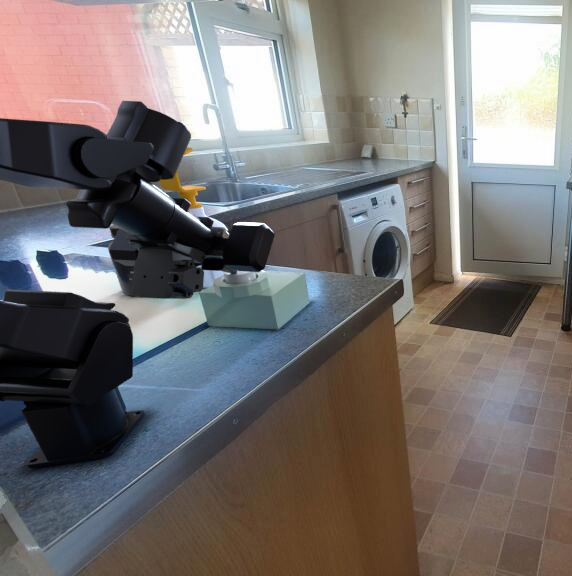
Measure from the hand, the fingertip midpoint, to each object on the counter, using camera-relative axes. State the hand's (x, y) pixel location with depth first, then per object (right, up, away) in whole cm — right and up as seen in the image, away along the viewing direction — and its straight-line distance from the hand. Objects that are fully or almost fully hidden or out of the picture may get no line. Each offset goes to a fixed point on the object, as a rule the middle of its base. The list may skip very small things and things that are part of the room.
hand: (235, 270), depth 61 cm
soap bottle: (-18, -1, +19) cm, 26 cm away
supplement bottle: (-26, -3, +14) cm, 29 cm away
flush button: (0, -2, +2) cm, 3 cm away
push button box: (0, -7, +7) cm, 10 cm away
